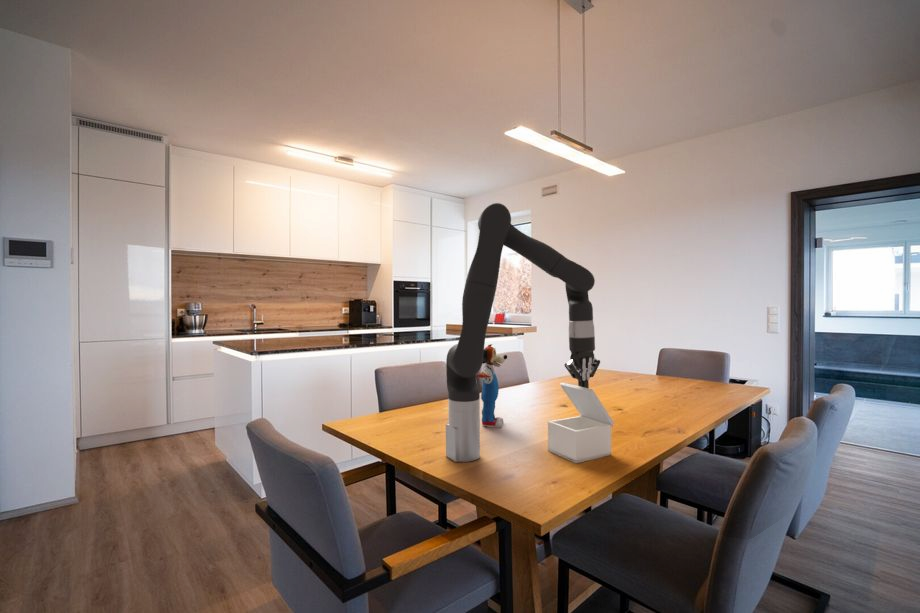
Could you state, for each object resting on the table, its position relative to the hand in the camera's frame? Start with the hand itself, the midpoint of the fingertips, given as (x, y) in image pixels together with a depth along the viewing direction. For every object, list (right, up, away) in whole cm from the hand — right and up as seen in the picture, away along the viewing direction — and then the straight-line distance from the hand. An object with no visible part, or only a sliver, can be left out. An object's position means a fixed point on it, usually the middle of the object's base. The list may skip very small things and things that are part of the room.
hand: (583, 392), depth 131 cm
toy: (-25, -18, +30) cm, 43 cm away
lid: (+1, -4, 0) cm, 4 cm away
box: (-2, -18, -1) cm, 18 cm away
